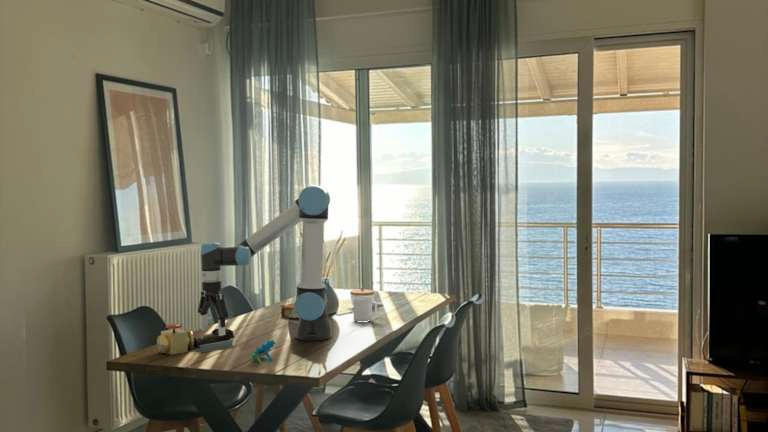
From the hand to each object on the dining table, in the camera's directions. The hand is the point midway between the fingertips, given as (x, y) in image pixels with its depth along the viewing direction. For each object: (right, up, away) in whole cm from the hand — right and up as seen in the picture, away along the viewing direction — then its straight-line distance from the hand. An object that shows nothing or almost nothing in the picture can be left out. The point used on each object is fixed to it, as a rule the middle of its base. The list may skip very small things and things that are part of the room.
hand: (213, 332), depth 277 cm
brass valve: (-12, -6, -11) cm, 18 cm away
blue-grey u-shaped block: (-2, -5, -2) cm, 6 cm away
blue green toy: (+24, -6, -23) cm, 34 cm away
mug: (+61, -3, +48) cm, 78 cm away
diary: (+32, -3, +65) cm, 73 cm away
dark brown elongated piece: (0, -5, 0) cm, 5 cm away
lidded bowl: (+58, -2, +83) cm, 101 cm away
